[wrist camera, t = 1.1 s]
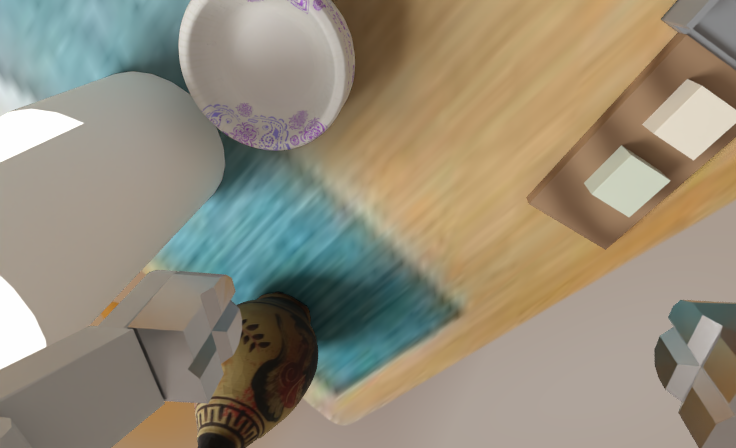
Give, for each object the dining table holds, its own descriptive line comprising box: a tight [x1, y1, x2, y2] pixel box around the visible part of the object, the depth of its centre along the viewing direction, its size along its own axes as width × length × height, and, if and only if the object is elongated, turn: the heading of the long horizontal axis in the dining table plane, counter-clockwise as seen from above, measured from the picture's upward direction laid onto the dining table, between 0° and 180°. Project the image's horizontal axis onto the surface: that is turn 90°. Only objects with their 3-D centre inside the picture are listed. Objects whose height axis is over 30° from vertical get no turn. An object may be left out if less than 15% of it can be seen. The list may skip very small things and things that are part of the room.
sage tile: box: [584, 145, 670, 217], centre depth 43 cm, size 5×5×2 cm
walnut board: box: [527, 32, 736, 250], centre depth 43 cm, size 20×11×2 cm, turn 151°
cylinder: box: [0, 71, 225, 369], centre depth 39 cm, size 17×17×28 cm
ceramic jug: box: [195, 292, 318, 448], centre depth 51 cm, size 17×15×30 cm
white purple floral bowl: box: [179, 0, 355, 151], centre depth 40 cm, size 15×15×8 cm
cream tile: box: [642, 79, 736, 160], centre depth 39 cm, size 5×5×2 cm
